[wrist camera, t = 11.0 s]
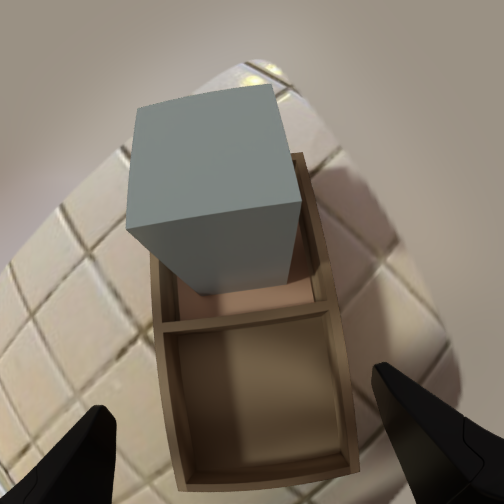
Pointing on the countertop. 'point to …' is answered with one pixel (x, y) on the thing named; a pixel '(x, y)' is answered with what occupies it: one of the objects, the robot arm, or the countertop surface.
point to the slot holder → (257, 373)
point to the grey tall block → (215, 189)
